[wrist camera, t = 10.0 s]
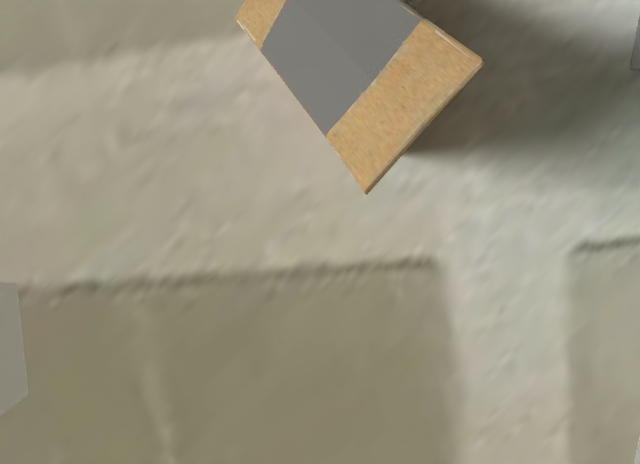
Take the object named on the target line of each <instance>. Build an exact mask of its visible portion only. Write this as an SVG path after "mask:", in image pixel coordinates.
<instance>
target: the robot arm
mask: <svg viewBox="0 0 640 464" xmlns="http://www.w3.org/2000/svg"><path fill="white" fill-rule="evenodd" d="M28 394H29V393H28V384H27V375H26V366H25V356H24V347H23V338H22V329H21V319H20V310H19V301H18V291H17V284H16V283H7V282H0V416H2V415H3V414H4V413H5V412H7V411H8V410H9V409H10V408H12V407H13V406H14V405H15V404H17V403H18V402H19V401H20V400H22V399H23V398H24V397H25V396H27V395H28ZM634 464H640V438H639V442H638V447H637V451H636V456H635V460H634Z"/></svg>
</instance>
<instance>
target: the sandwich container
mask: <svg viewBox="0 0 640 464" xmlns="http://www.w3.org/2000/svg"><path fill="white" fill-rule="evenodd" d="M235 19H236V21H237V22H238V23H239V25H240V26H241V27H242V28H243V30H244V31H245V32H246V33H247V35H248V36H249V37H250V38H251V40H252V41H253V42H254V44H255V45H256V46H257V47H258V49H259V50H260V51H261V52H262V54H263V55H264V56H265V57H266V59H267V60H268V61H269V63H270V64H271V65H272V66H273V68H274V69H275V70H276V71H277V73H278V74H279V75H280V77H281V78H282V79H283V81H284V82H285V83H286V85H287V86H288V88H289V89H290V90H291V92H292V93H293V94H294V96H295V97H296V98H297V100H298V101H299V102H300V104H301V105H302V106H303V108H304V109H305V110H306V111H307V113H308V114H309V115H310V117H311V118H312V119H313V121H314V122H315V123H316V125H317V126H318V127H319V129H320V130H321V131H322V133H323V134H324V135H325V137H326V138H327V139H328V141H329V142H330V144H331V145H332V147H333V148H334V149H335V151H336V152H337V154H338V155H339V157H340V158H341V160H342V161H343V162H344V164H345V165H346V167H347V168H348V170H349V171H350V173H351V174H352V175H353V177H354V178H355V180H356V181H357V183H358V184H359V186H360V187H361V188H362V190H363V191H364V193H365V194H366V195H367V194H368V193H369V192H370V191H371V190H372V188H373V187H374V186H375V185H376V184H377V183H378V182H379V181H380V179H381V178H382V177H383V176H384V175H385V174H386V173H387V171H388V170H389V169H390V168H391V167H392V166H393V165H394V164H395V162H396V161H397V160H398V159H399V158H400V157H401V156H402V155H403V153H404V152H405V151H406V150H407V149H408V148H409V147H410V146H411V144H412V143H413V142H414V141H415V140H416V139H417V138H418V136H419V135H420V134H421V133H422V132H423V131H424V130H425V129H426V128H427V127H428V126H429V125H430V123H431V122H432V121H433V120H434V119H435V118H436V117H437V116H438V115H439V114H440V112H441V111H442V110H443V109H444V108H445V107H446V106H447V105H448V104H449V103H450V101H451V100H452V99H453V98H454V97H455V96H456V95H457V94H458V93H459V92H460V90H461V89H462V88H463V87H464V86H465V85H466V84H467V83H468V82H469V81H470V79H471V78H472V77H473V76H474V75H475V74H476V73H477V72H478V71H479V70H480V68H481V67H482V66H483V65H484V64H485V61H484V59H482V58H481V57H480V56H478V55H477V54H475V53H474V52H473V51H471V50H470V49H468V48H467V47H466V46H464V45H463V44H461V43H460V42H459V41H457V40H456V39H454V38H453V37H451V36H450V35H449V34H447V33H446V32H444V31H443V30H442V29H440V28H439V27H437V26H436V25H435V24H433V23H432V22H430V21H429V20H427V19H426V18H425V17H424V16H422V15H421V14H420V13H418V12H417V11H416V10H415V9H413V8H412V7H411V6H409V5H408V4H407V3H406V2H404V1H403V0H246V1H245V3H244V4H243V6H242V7H241V9H240V10H239V12H238V14H237V15H236V18H235Z"/></svg>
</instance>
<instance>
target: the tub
mask: <svg viewBox="0 0 640 464" xmlns="http://www.w3.org/2000/svg"><path fill="white" fill-rule="evenodd" d="M630 69H638V70H640V17H639V22H638V28H637V33H636V38H635V44H634V49H633V55H632V60H631V66H630Z"/></svg>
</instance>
